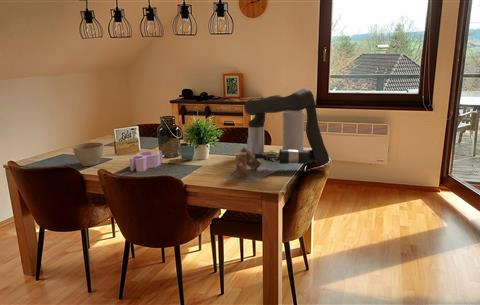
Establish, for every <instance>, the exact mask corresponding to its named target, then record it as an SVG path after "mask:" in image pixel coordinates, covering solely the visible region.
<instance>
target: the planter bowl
mask: <svg viewBox="0 0 480 305" xmlns="http://www.w3.org/2000/svg"><path fill="white" fill-rule="evenodd" d="M72 150H73V154H74V157H75V158H76V159H77V161H78V162H79V163H80V165H81V166H84V167H92V165H94V166H97V165H99V164H100V160H102V159H101V158H102V157H103V153H104V144H103V142H96V141H95V142H92V141H91V142H84V143H82V142H81V143H78V144H75V145H73V146H72ZM98 163H99V164H98ZM96 164H97V165H96Z"/></svg>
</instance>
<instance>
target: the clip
mask: <svg viewBox="0 0 480 305" xmlns="http://www.w3.org/2000/svg"><path fill="white" fill-rule="evenodd" d="M162 155H163V154H162V150H157V151H155V154H153V149H149V150H145V151H143V150H142V151H139V152H137V153H136V154H135V155H134V156H130V157H129V165H130V166H129V167H130V171H131V172H134V170H136V173H139V172H145V171H146V170H148V169H154V168H157V166H158V167H160V166H161V164H163V156H162ZM159 165H160V166H159ZM153 167H154V168H153Z"/></svg>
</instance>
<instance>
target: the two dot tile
mask: <svg viewBox="0 0 480 305" xmlns="http://www.w3.org/2000/svg"><path fill="white" fill-rule="evenodd" d="M239 152H246V157H247V167H248V166H249V167H251V168H252V169H253V170H254V171H256V169H257V168H258V167H259V166H260V167H261V165H262V161H261V159H256V158H255V156H254V155H253V154H252V153H251V152H250V151H248V150H247V147H245V146H243V147H241V149H240V150H239Z"/></svg>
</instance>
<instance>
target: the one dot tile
mask: <svg viewBox="0 0 480 305" xmlns="http://www.w3.org/2000/svg"><path fill="white" fill-rule="evenodd" d="M247 167H248V165H247V157H246V152H240V151H236V152H235V172H236V179H247Z"/></svg>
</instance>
